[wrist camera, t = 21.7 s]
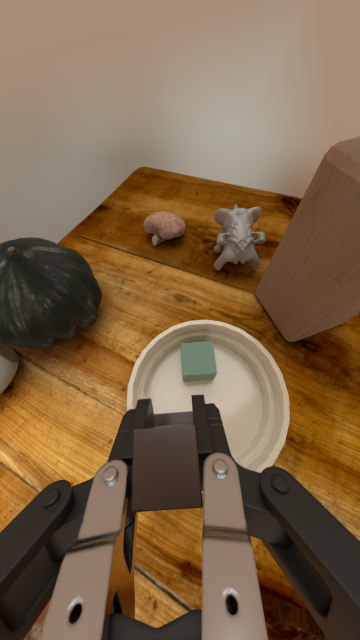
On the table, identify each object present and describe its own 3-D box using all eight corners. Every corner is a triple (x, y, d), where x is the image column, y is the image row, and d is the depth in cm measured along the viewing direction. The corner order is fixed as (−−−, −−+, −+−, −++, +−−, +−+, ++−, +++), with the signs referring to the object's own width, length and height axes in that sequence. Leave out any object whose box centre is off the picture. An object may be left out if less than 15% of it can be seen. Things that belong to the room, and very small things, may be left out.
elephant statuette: (219, 282, 34) (226, 247, 27) (196, 237, 39) (197, 198, 32) (268, 268, 34) (287, 231, 28) (239, 226, 40) (249, 186, 33)
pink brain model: (172, 257, 37) (196, 225, 37) (151, 232, 32) (179, 196, 33) (152, 253, 42) (174, 225, 43) (132, 230, 38) (156, 200, 39)
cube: (209, 350, 28) (212, 340, 24) (213, 379, 26) (217, 373, 22) (181, 352, 28) (180, 343, 24) (183, 381, 26) (182, 375, 22)
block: (251, 292, 32) (326, 138, 15) (303, 275, 34) (432, 112, 16) (285, 346, 28) (455, 218, 10) (344, 324, 29) (588, 174, 11)
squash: (-33, 286, 29) (-134, 268, 15) (60, 238, 33) (47, 191, 20) (40, 356, 33) (12, 390, 20) (113, 305, 38) (130, 303, 25)
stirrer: (202, 410, 16) (213, 400, 8) (209, 472, 14) (232, 541, 6) (153, 414, 16) (114, 408, 8) (153, 476, 14) (103, 549, 6)
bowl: (253, 330, 29) (264, 314, 25) (290, 473, 21) (316, 487, 17) (140, 339, 29) (131, 325, 25) (135, 483, 22) (120, 499, 17)
